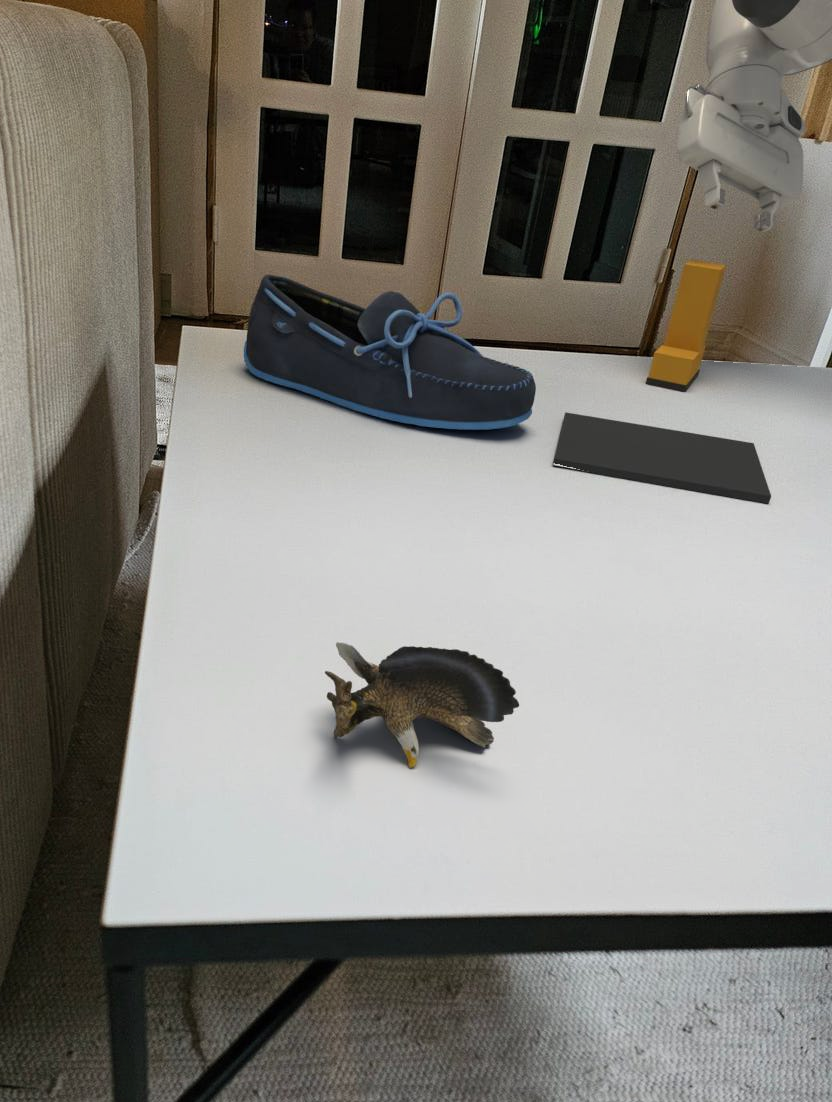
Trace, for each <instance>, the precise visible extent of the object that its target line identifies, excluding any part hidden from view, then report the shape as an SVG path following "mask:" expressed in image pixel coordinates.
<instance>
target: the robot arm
mask: <svg viewBox="0 0 832 1102" xmlns="http://www.w3.org/2000/svg"><path fill="white" fill-rule="evenodd" d="M708 23H709V24H708V28H707V29H708V30H707V38H706V54H705V55H706V56H705V57H706V58H705V61H706V62H705V64H706V68H707V71H708V79H707V80H708V81H707V83H706V86H704V85H702V84H699V83H697V84H694V85H690V86H689V87H688V88H687V90H686V91H685V93H684V102H683V103H684V104H683V105H684V109H683V110H682V112H681V115H680V118H679V124H678V130H677V138H676V148H675V149H676V154H677V156H678V159H679V161H680V162H681V163H682V164H683V165H686V166H687V167H690V168H692V169H694V170H695V171H698V179H699V183H700V185H701V187H702V189H703V193H704V205H705V207H708V208H711V209H713V210H716V209H718V208H720V207H723V205H724V204H725V202H726V190H725V189H723V188H722V185H721V184H724V185H725V186H727V187H729V188H731V189H733V190H735V191H737V192H739V193H741V194H743V195H745V196H747V197H749V198H751V199H753V200H755V201H756V202H758V208H759V209H761V210H760V212H759V213H758V214H757V215H755V216H753V229H754V230H755V231H758V232H759V233H762V234H763V233H765V232H768V231H770V230H771V229H772V228H773V226H774V215H775V214H776V212H777V210H780V209H781V208H783V207H786V206H788V205H790V204H792V203H794V202H796V201H797V200H798V198H799V197H800V196H801V195H802V192H803V185H804V184H803V183H804V150H803V146H802V145H803V144H802V143H801V141H800V138H802V137H804V135H805V134H806V122H805V120H804V119H803V117H802V116H801V115H800V113H799V112H798V111H797V110H796V109H795V107H794V106H793V105H792V103H791V102H790V100H789V98H788V96H787V93H786V92H785V90H784V89H782V78H783V76H791V75H795V74H799V73H803V72H806V71H809V70H810V69H814V68H816V67H819V66H822V65H824V64H826V63H829V62H831V61H832V0H715V1H714V3H713V5H712V9H711V12H710V16H709V22H708Z"/></svg>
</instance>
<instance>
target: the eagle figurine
mask: <svg viewBox="0 0 832 1102" xmlns="http://www.w3.org/2000/svg"><path fill="white" fill-rule="evenodd" d="M335 647H336V649H337V652H338V655H339V657H340V658H341V659H343V661H344V662H345V663H346V664H347V666H348V667H349V668H350V669H351V671H352V672H353V673H354V674H355V675H356V676H358V678H361V679H364V680H365V682H366V683H367V685H366V686H364V687H362V688H361V689H358V690H356V691H353V692H352V688H353V682H352V681H351V680H348V681H346V680H345V679H343V678H341V677H340V676H338V675H336V674H335V673H334V672H332V671H328V670H325V671H324V674H325V676H327V677H328V678H330V679H331V680H332V681H333V683H334V690H335V693H333V692H331V691H328V692H327V694H326V699H327V700H328V701H329V702H331V706H332V708H333V710H334V713H335V721H336V722H335V723H336V724H335V727H334V729H333V734H332V735H333V738H335V739H338V738H343V737H345V736H347V735H349V734H350V733H351V732H353V731H354V729H356V727H357V726H359V725H360V724H362V723H363V722H365V721H368V720H371V719H373V718H379V717H380V718H382V720H383V722H384V723H385V725H386V727H387V729H389V731H390V732H391V733H392V735H393V736H394V737H395V738H396V740H397V742H398V743H399V744H400V746H401V748H402V750H403V752H404V754H405V755H406V758H407V762H408V768H414V767H415V766H416V763H417V759H418V756H419V750H420V749H419V748H420V747H419V741H418V737H417V734H416V731H415V727H414V723H413V720H417V719H422V718H423V719H429V720H432V721H434V722H437V723H438V724H441V725H443V726H445V727H447V728H448V729H451V730H454V731H456V733H458V734H460V735H461V736H463V738H466V739H467V740H469V741H470V742H472V743H473V744H475V745H477V746H479V747H480V748H483V749H485V748H486V746H491V744H492V742H493V741H494V740H495V737H494V736H493V731H492V730H491V729H490V728H488V727H486V723H485V722H487V723H501V722H504V720H505V716H510V715H513V714H514V709H517V708H520V702H519V701H518V699H517V698H516V697H515V695H516V694H517V691H516V688H514V687H513V686H512V685H511V681H510V679H509V678H507V677H506V676H504V671H502V669H499V668H496V667H495V666H494V665H493V664H492V663H490V662H487V661H486V660H485V658H481V657H478V655H476V654H470V652H469V651H465V650H460V649H456V648H454V649H453V648H452V649H448V648H439V647H432V646H428V647H423V646H415V645H413V646H412V645H410V646H401V647H399V648H398V649H397V650H395V651H393V652H391V654H389V655H386V657H385V658H384V659H381V661H380V663H378V665H376V664H375V663H373V662H370V661H368V660H366V659H365V658H364V657H363V655H362V654H361V653H360V652H359V651H358V649H357V648H356V647H354V646H353V645H351V644H348V643H346V642H336V643H335Z"/></svg>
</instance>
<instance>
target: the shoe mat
mask: <svg viewBox="0 0 832 1102" xmlns="http://www.w3.org/2000/svg"><path fill="white" fill-rule="evenodd" d="M553 463H555V464H560V465H563V466H567V467H573V468H576V469H580V470H584V471H589V472H593V473H592V474H595V473H598V474H597V475H601V474H602V475H601V476H606V475H607V476H608V477H611V478H612V477H613V478H618V479H624V480H630V481H634V482H635V481H636V482H642V483H648V484H652V485H658V486H663V487H669V488H670V487H671V488H675V489H682V490H687V491H692V492H699V493H703V494H704V493H705V494H711V495H715V496H722V497H727V498H731V499H732V498H733V499H739V500H744V501H750V502H756V503H762V504H767V505H768V504H770V501H771V499H772V493H771V491H770V489H769V485H768V482H767V479H766V476H765V473H764V470H763V467H762V464H761V461H760V457H759V455H758V453H757V449H756V446H755V443H754V442H750V441H749V442H748V441H742V440H738V439H729V438H725V437H719V436H718V437H717V436H713V435H706V434H700V433H693V432H689V431H682V430H676V429H670V428H663V427H658V426H652V425H645V424H640V423H634V422H633V423H632V422H627V421H621V420H614V419H608V418H603V417H597V416H591V415H584V414H579V413H571V412H566V411H565V412H564V416H563V419H562V424H561V428H560V431H559V437H558V441H557V445H556V449H555V453H554V458H553V462H552V464H553ZM589 472H588V473H589Z"/></svg>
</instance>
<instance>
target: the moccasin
mask: <svg viewBox="0 0 832 1102" xmlns="http://www.w3.org/2000/svg"><path fill="white" fill-rule="evenodd" d="M446 299H448V300H451V301H452V302H453V305H454V309H455V312H456V316H455V318H454V319H452V320H447V321H446V320H445V321H443V320H438V319H437V320H436V319H431V317H432V316H433V315H434V313H435V312H436V310H437V309H438V307H439V306H440V304H441V303H442V302H443V301H445V300H446ZM462 318H463V307H462V303H461V301H460V299H459V297H458V296H457V295H456V294H454V293H452V292H444V293H442V294H440V295H439V296H438V297H437V298H436V299H435V301H433V303H432V305H431V306H430V307H429V309H428V311H427V313H426V314H424V313H423V312H421V311H419V309H418V308H417V307H416V306H415V305H414V304H413V303H412V302H411V301H409V300H408V299H407V298H406V296H404V295H403V294H402V293H401V292H398V291H392V290H388V291H385V292H383V293H382V294H380V295H378V296H377V297H376V298H375V299H373V301H371V303H370V304H369V305H367V307H366V308H365V307H363V306H359V305H358V304H355V303H352V302H349V301H347V300H344V299H342V298H339V297H335V296H334V295H330V294H328V293H324V292H322V291H319V290H316V289H314V288H311V287H309V286H307V285H304V284H302V283H300V282H298V281H295V280H293V279H290V278H287V277H284V276H279V275H275V274H274V275H273V274H265V275H264V276H262V278H261V280H260V284H259V287H258V288H257V291H256V294H255V296H254V300H253V302H252V305H251V307H250V311H249V317H248V322H247V331H246V340H245V342H244V346H243V359H244V361H243V362H244V364H245V366H246V368H247V369H248V370H249V371H250V373H251V374H252V375H254V376H255V377H258V378H259V379H262V380H264V381H266V382H270V383H272V384H274V385H275V384H276V385H280V386H282V387H287V388H289V389H290V388H291V389H294V390H298V391H300V392H303V393H305V394H310V395H311V396H314V397H318V398H320V399H321V400H325V401H328V402H331V403H333V404H335V405H337V406H341V407H342V408H343V407H344V408H347V409H350V410H352V411H355V412H359V413H362V414H367V415H370V416H372V417H377V418H379V419H383V420H388V421H393V422H398V423H401V424H402V423H403V424H408V425H415V426H419V427H428V428H435V429H447V430H459V431H460V430H468V431H469V430H474V431H475V430H476V431H477V430H478V431H479V430H484V431H485V430H494V429H495V430H496V429H497V430H498V429H499V430H500V429H504V428H509V427H513V426H517V425H519V424H521V423H523V422H525V421H527V420H529V418H530V417H531V416H532V414H533V409H532V408H533V405H534V403H535V396H536V392H537V391H536V390H537V386H536V382H535V380H534V376H533V373H531V372H530V371H529V370H527V369H525V368H521V367H520V366H516V365H513V364H509V363H507V362H502V361H498V360H496V359H492V358H489V357H486V356H484V355H483V354H482V353H481V352H480V351H479V350H478V349H477V348H476V347H475V346H473V344H471V343H470V342H469V341H467V340H466V339H464V338H462V337H461V336H460V335H457V334H456V333H454V332H451V331H450V330H448V329H446V328H452V327H455V326H456V325H458V324H459V323H460V322H461V320H462Z"/></svg>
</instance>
